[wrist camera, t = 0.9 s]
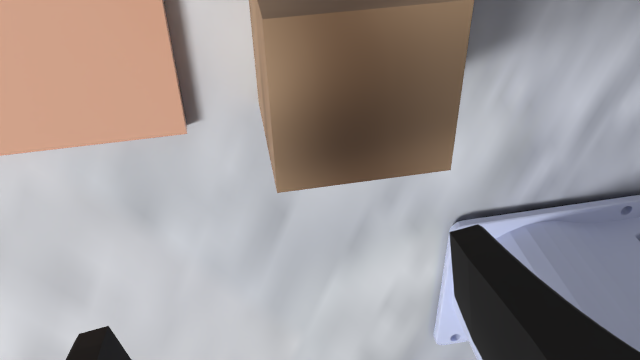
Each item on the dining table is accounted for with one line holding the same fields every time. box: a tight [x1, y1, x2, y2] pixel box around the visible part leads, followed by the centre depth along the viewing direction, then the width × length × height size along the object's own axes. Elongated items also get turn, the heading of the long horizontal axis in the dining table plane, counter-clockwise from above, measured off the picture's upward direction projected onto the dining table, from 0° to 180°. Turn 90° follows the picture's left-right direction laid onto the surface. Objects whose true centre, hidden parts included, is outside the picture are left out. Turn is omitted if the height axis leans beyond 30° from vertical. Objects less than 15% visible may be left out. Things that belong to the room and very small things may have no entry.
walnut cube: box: [249, 0, 474, 193], centre depth 17 cm, size 5×5×5 cm
